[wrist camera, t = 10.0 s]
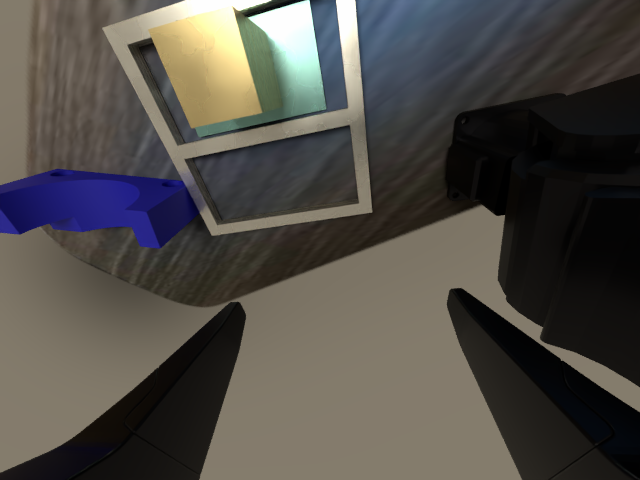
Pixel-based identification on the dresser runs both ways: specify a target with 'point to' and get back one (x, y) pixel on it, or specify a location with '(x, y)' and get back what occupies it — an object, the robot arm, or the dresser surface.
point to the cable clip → (97, 204)
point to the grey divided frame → (297, 97)
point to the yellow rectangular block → (218, 66)
